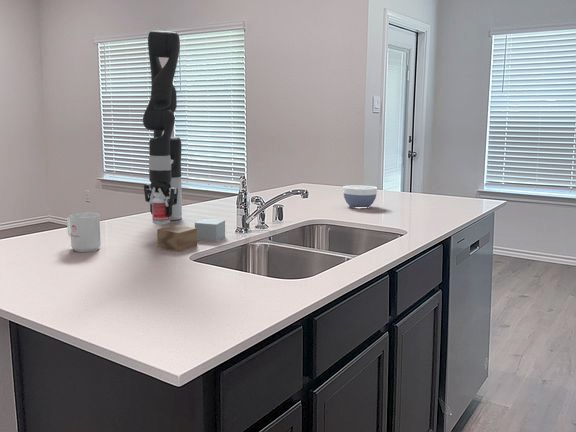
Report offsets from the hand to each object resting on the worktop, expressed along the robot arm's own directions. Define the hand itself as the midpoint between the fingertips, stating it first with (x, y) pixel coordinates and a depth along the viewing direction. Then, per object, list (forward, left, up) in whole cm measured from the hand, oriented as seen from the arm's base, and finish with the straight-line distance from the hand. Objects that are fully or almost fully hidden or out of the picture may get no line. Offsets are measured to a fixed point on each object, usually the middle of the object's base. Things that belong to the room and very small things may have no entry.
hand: (161, 215), depth 206 cm
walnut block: (+15, -9, -7) cm, 19 cm away
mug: (-8, -28, -8) cm, 30 cm away
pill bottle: (0, 0, -3) cm, 3 cm away
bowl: (+32, +100, -8) cm, 105 cm away
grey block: (+16, +7, -7) cm, 19 cm away
